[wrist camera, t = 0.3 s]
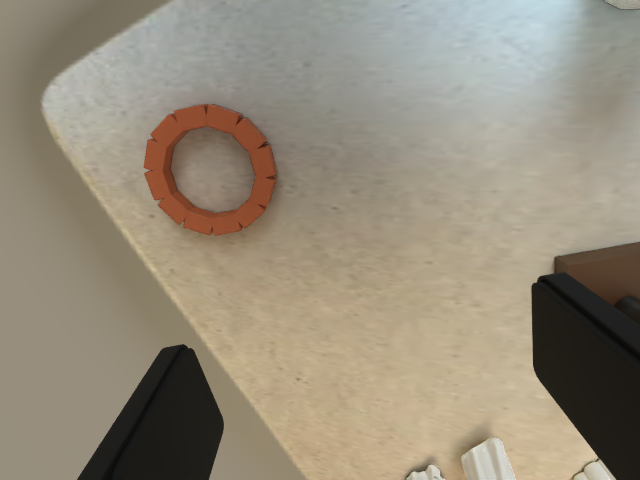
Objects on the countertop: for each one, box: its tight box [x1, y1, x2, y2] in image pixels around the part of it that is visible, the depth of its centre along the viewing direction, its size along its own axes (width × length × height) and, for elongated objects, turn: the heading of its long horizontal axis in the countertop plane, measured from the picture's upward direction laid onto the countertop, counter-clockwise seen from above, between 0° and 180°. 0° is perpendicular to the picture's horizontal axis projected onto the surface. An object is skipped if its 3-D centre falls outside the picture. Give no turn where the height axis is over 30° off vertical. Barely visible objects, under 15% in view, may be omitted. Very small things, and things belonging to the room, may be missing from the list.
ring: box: [144, 104, 277, 235], centre depth 25 cm, size 9×9×1 cm
